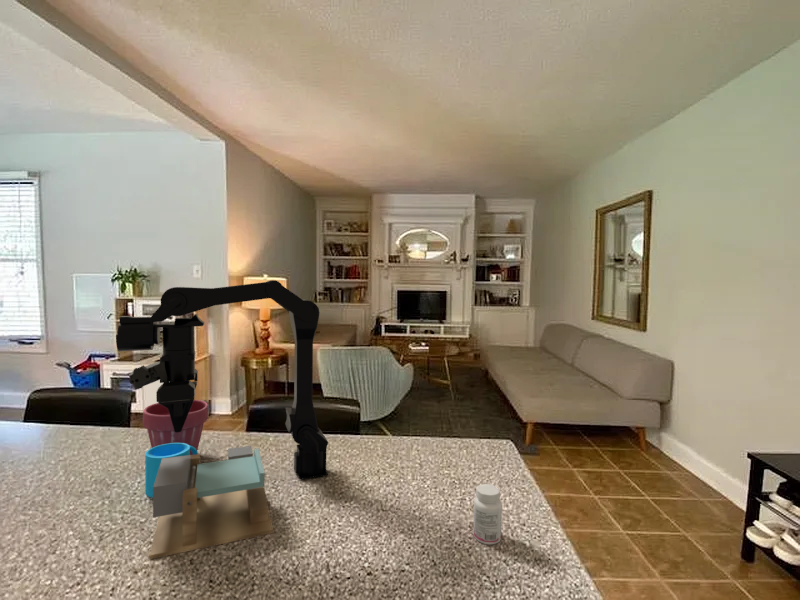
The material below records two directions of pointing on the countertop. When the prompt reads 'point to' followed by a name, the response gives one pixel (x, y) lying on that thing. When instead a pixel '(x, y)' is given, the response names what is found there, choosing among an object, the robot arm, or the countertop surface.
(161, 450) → the mug
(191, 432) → the plant pot
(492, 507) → the pill bottle
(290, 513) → the countertop surface
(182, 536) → the frame
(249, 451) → the gray cube
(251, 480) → the trapdoor
